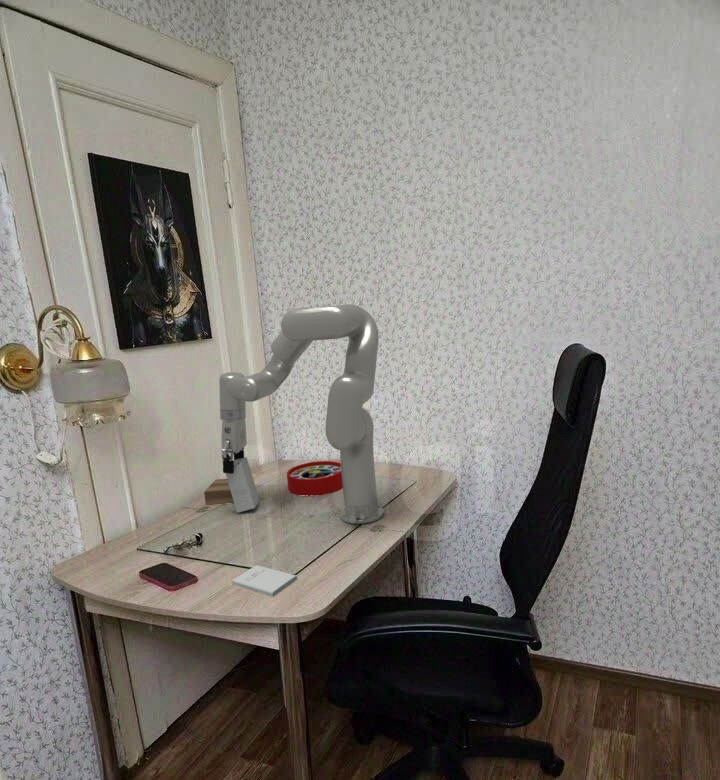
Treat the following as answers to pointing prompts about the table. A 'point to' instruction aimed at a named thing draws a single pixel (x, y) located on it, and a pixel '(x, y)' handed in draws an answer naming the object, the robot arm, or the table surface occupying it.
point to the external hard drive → (264, 580)
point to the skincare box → (242, 486)
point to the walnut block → (218, 493)
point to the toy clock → (315, 478)
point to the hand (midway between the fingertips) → (233, 467)
